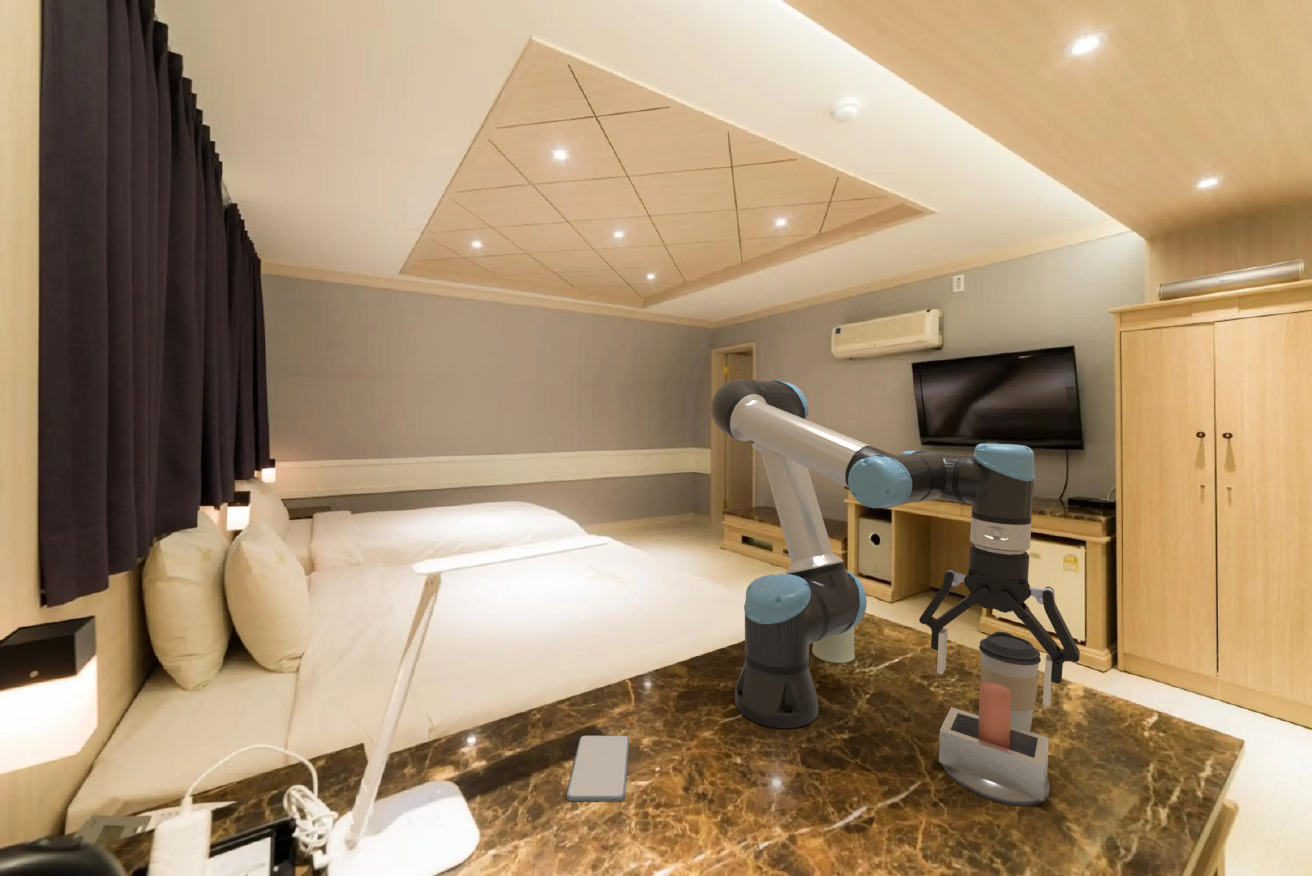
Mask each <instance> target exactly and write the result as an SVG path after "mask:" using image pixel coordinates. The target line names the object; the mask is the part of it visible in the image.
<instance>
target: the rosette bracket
mask: <svg viewBox="0 0 1312 876" xmlns="http://www.w3.org/2000/svg"><path fill="white" fill-rule="evenodd" d="M978 736H979V714H978V715H977V714H975V713H972V712H968V711H965V710H962V709H958V708H955V707H950V709H949V711H948V713H947V714H946V716H945V718H944V720H943V722H942V725H941V727H940V729H939V737H938V739H939V741H938V743H939V745H938V762H939V763H940V764H941V766H942V768H943V770H944V771H945V773H946V774H947V775H948V776H949V777H950V778H951V779H953V781H955V782H956V783H957V784H959V785H960V786H962V787H963V788H964V789H966V790H968V791H969V792H971V793H974V795H975V794H976V795H978V796H980V797H982V798H984V799H987V800H991V801H992V802H996V803H1000V804H1004V805H1009V806H1014V807H1015V806H1017V807H1018V806H1019V807H1031V806H1036V805H1040V804H1042V803H1044V802H1045V801H1046V800H1047V799H1048V798H1049V797H1050V789H1051V788H1050V787H1051V786H1050V785H1051V784H1050V783H1051V782H1050V780H1049V777H1048V766H1049V765H1048V763H1049V736H1045V735H1042V734H1039V733H1035V732H1032V731H1031V730H1030V731H1026V730H1023V729H1020V728H1017V727H1013V726H1010V750H1009V749H1006V748H1003V747H1000V746H997V745H994V744H991V743H988V742H985V741H982V740H979V739H978Z"/></svg>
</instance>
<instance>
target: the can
mask: <svg viewBox="0 0 1312 876" xmlns="http://www.w3.org/2000/svg"><path fill="white" fill-rule="evenodd" d="M811 652H812V654H813V655H814V656H815V657H817V658H818V659H819V660H822V661H824V662H829V663H833V664H834V663H835V664H845V663H846V664H847V663H850V662H852V661H853V660H855V657H856V655H855V626H854V627H853V628H850V629H849V630H848V631H846V632H844V633H842V634H835V635H832V636H830V637H827V638H824V639H822V640H819V641H816V642H813V643H812V649H811Z"/></svg>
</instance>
